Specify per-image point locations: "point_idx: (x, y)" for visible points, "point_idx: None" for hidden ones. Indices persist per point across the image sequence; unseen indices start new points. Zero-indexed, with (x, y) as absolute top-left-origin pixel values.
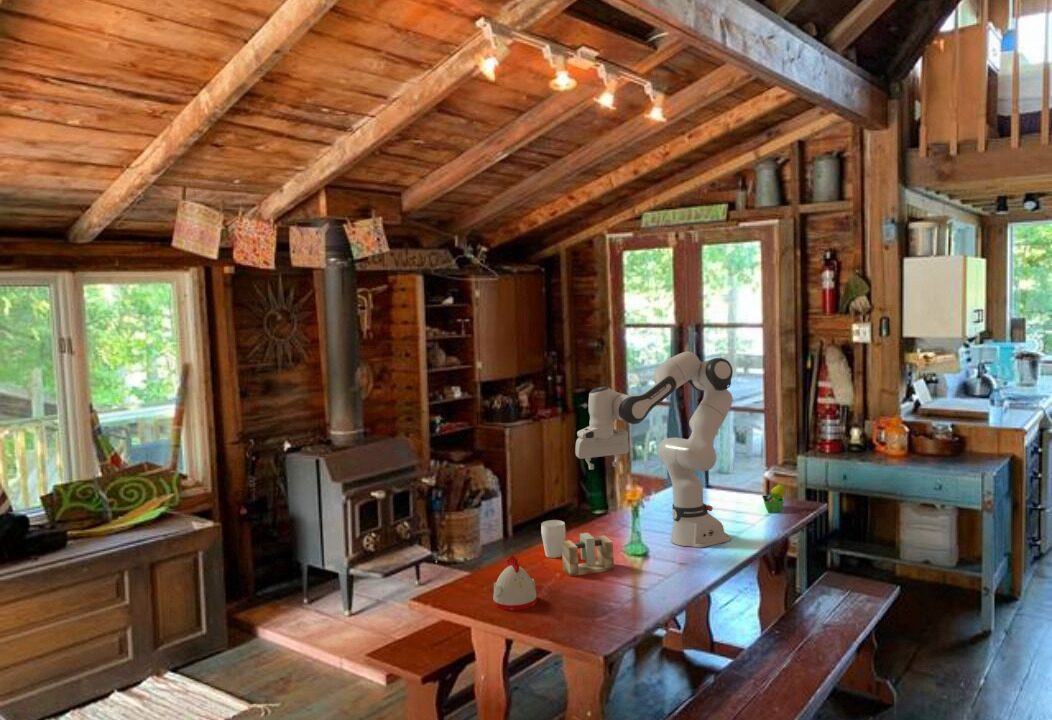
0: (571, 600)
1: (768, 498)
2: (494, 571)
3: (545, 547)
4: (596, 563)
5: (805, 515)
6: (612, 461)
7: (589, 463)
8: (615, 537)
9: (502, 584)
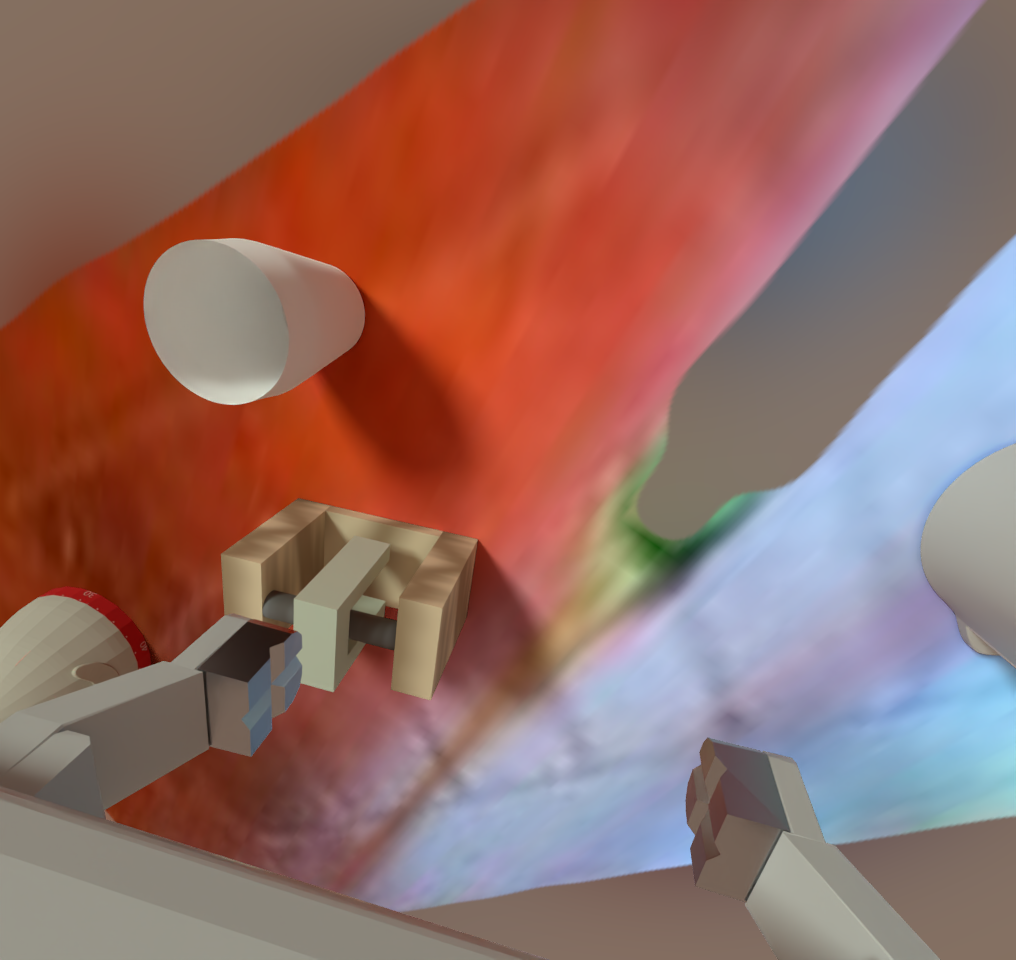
0: None
1: None
2: (50, 356)
3: (248, 321)
4: (423, 554)
5: None
6: (732, 815)
7: (138, 768)
8: (760, 214)
9: None
